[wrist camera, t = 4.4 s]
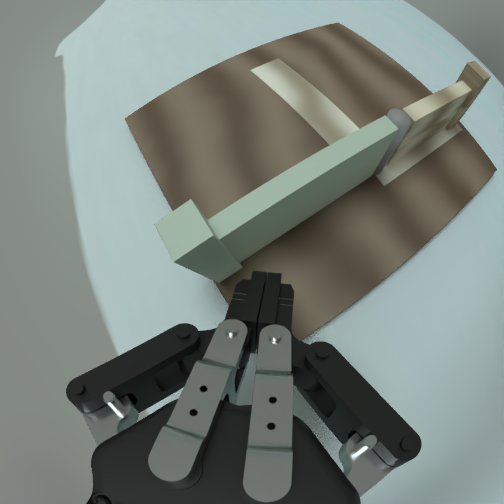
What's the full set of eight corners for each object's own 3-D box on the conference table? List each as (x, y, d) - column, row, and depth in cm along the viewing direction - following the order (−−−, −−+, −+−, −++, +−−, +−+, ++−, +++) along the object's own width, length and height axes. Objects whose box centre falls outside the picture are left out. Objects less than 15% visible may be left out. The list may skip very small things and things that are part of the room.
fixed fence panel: (442, 112, 21) (474, 60, 13) (455, 125, 20) (490, 76, 12) (374, 153, 21) (406, 85, 12) (389, 170, 20) (430, 107, 12)
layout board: (337, 27, 26) (338, 21, 25) (492, 173, 20) (497, 169, 19) (128, 123, 25) (124, 118, 24) (266, 359, 19) (265, 362, 18)
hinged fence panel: (372, 153, 20) (404, 83, 12) (387, 171, 20) (428, 106, 12) (205, 259, 20) (154, 224, 12) (219, 282, 19) (173, 261, 11)
